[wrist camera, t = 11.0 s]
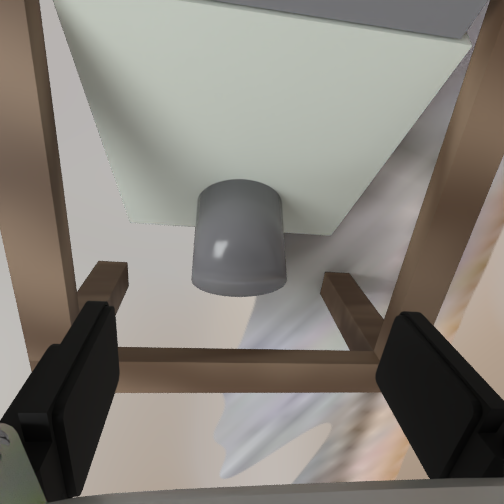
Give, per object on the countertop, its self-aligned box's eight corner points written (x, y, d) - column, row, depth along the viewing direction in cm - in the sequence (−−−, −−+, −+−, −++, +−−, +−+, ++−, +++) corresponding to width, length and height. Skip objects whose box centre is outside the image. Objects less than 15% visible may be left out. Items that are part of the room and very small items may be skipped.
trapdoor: (4, -224, 8) (-18, -204, 7) (541, -102, 10) (563, -77, 9) (133, 203, 23) (130, 222, 22) (328, 217, 25) (330, 235, 24)
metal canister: (197, 175, 18) (190, 259, 16) (291, 183, 19) (297, 265, 17) (197, 224, 23) (192, 295, 20) (272, 229, 23) (275, 298, 21)
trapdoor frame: (61, -130, 16) (-147, -431, 7) (435, -56, 18) (649, -202, 9) (100, 284, 25) (36, 392, 16) (343, 294, 28) (405, 392, 19)
